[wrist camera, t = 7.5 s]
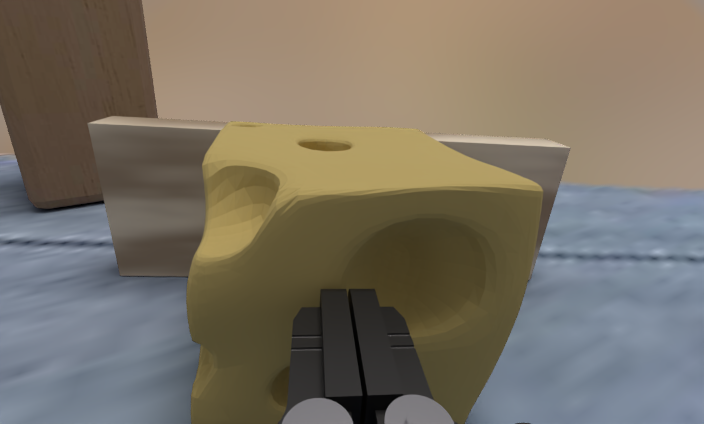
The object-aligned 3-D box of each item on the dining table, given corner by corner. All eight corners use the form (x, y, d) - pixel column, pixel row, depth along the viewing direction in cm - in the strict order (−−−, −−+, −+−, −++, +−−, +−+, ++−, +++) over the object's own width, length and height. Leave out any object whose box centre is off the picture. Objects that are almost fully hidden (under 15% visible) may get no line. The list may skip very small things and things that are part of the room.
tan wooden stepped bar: (530, 279, 24) (570, 147, 21) (120, 275, 22) (87, 123, 18) (472, 218, 34) (493, 119, 30) (179, 210, 31) (165, 100, 27)
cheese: (196, 474, 12) (151, 186, 8) (234, 285, 22) (222, 113, 18) (486, 435, 14) (563, 188, 10) (401, 277, 24) (423, 121, 20)
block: (146, 167, 41) (113, -43, 33) (170, 194, 34) (136, -64, 26) (31, 179, 35) (-42, -73, 27) (32, 215, 28) (-66, -110, 20)
